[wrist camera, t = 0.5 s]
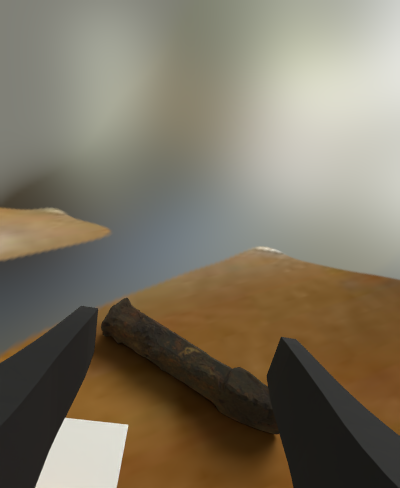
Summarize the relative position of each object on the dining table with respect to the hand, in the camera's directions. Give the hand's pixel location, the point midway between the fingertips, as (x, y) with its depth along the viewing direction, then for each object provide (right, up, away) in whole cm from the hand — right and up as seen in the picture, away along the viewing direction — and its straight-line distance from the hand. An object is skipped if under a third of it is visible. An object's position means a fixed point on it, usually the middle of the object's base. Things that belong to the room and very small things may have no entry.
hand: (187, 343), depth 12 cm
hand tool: (-1, -9, +18) cm, 20 cm away
